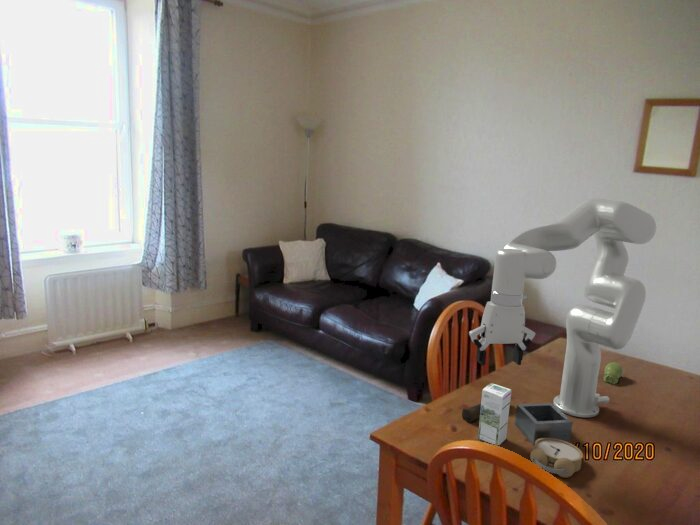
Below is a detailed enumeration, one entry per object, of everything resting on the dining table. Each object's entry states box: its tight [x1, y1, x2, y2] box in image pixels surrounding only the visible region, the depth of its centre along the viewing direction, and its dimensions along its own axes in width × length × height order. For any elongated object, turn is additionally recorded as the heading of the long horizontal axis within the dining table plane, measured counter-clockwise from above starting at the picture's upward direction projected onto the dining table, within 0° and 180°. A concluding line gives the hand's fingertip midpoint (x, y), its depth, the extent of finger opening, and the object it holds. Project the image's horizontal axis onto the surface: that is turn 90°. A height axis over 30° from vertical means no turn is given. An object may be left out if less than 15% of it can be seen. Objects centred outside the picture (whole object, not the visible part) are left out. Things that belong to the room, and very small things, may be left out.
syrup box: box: [477, 382, 512, 446], centre depth 136 cm, size 6×6×14 cm
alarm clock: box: [530, 438, 584, 478], centre depth 127 cm, size 11×5×15 cm
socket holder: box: [514, 402, 574, 445], centre depth 140 cm, size 10×10×6 cm
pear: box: [603, 361, 624, 385], centre depth 177 cm, size 6×5×10 cm
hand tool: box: [461, 403, 481, 424], centre depth 150 cm, size 19×4×5 cm, turn 123°
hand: (498, 363), depth 132 cm, fingers open, 9 cm apart
